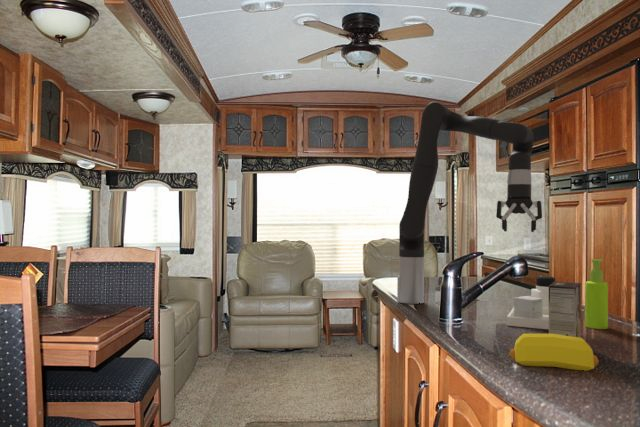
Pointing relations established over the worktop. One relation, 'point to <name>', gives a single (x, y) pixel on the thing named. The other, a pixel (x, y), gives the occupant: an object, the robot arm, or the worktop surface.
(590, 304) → the soap dispenser
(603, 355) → the worktop surface
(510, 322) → the tray
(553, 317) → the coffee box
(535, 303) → the product box
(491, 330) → the worktop surface
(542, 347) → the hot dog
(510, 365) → the worktop surface
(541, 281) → the medicine bottle
